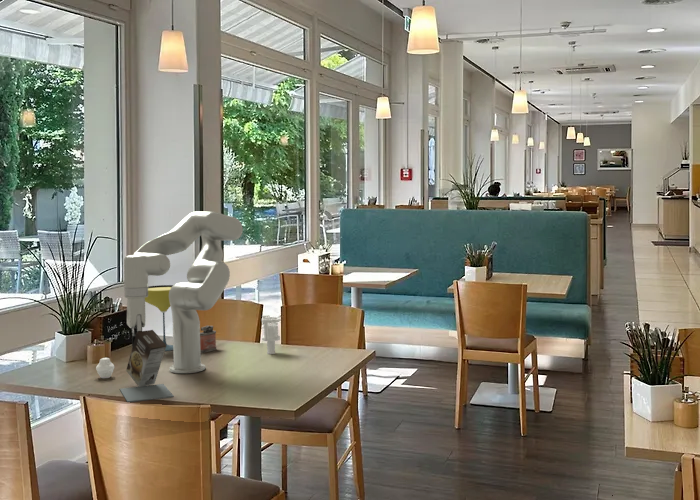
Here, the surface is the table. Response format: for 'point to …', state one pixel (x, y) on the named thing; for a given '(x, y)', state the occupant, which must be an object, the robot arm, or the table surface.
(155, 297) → the cocktail glass
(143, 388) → the rubber mat
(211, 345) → the lighter
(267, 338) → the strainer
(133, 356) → the coffee box
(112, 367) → the white rounded jar
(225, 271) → the robot arm
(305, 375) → the table surface
